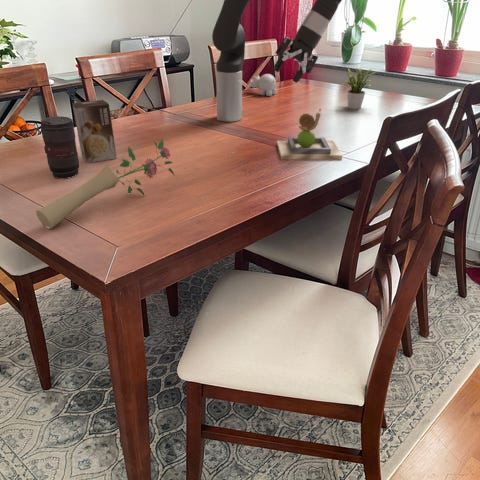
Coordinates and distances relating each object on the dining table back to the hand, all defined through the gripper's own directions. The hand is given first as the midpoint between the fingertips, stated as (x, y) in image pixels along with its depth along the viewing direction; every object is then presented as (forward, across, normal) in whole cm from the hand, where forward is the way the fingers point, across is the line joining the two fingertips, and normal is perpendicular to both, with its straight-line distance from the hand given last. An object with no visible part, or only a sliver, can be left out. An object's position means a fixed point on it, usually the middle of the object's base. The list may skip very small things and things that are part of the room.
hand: (285, 76), depth 160 cm
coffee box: (+46, +47, +4) cm, 66 cm away
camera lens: (+50, +57, +13) cm, 77 cm away
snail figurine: (+14, -4, +24) cm, 28 cm away
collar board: (+14, -4, +24) cm, 28 cm away
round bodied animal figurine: (+14, -30, -49) cm, 59 cm away
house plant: (-2, -48, -13) cm, 50 cm away
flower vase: (+43, +52, +37) cm, 77 cm away
